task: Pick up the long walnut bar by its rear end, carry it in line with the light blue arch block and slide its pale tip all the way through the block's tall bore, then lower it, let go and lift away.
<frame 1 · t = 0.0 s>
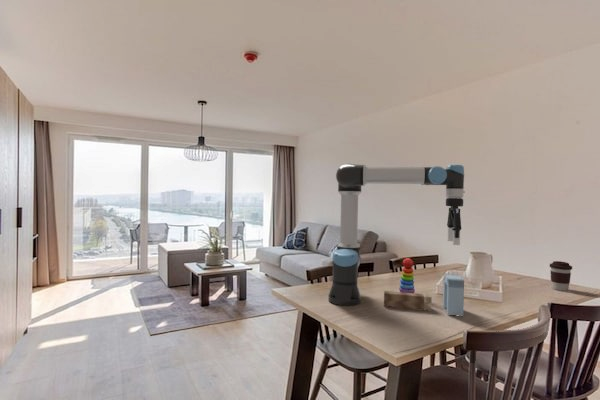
hand: (453, 243, 161), 28 cm above the table, tool pointing down, fingers open, 13 cm apart
coffee cup: (559, 289, 188), on the table
light blue arch block: (452, 311, 149), on the table
stacking toy: (406, 295, 171), on the table
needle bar: (406, 307, 153), on the table
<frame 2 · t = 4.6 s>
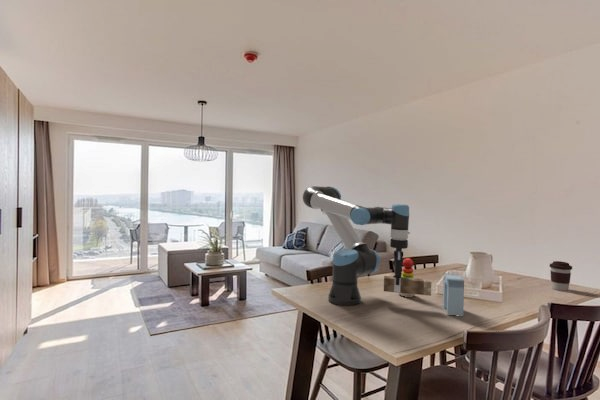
hand: (396, 290, 154), 7 cm above the table, tool pointing down, fingers closed on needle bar, 4 cm apart
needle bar: (406, 292, 153), point 7 cm above the table, touching gripper
everything else where it was.
when the fingers open (1 cm above the table, at t = 10.3 s): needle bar drops 1 cm, on the table.
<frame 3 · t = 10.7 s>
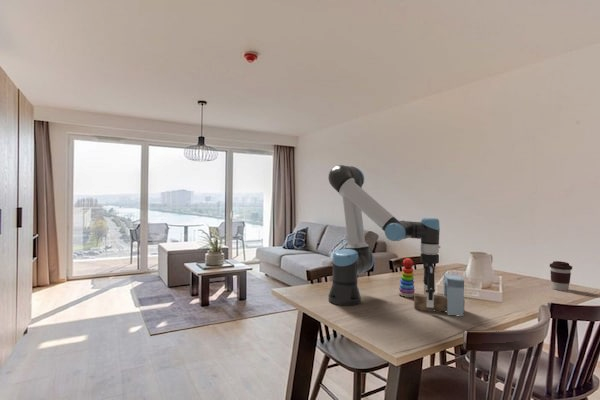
hand: (428, 303, 151), 3 cm above the table, tool pointing down, fingers open, 10 cm apart
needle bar: (438, 310, 150), on the table
everything else where it was.
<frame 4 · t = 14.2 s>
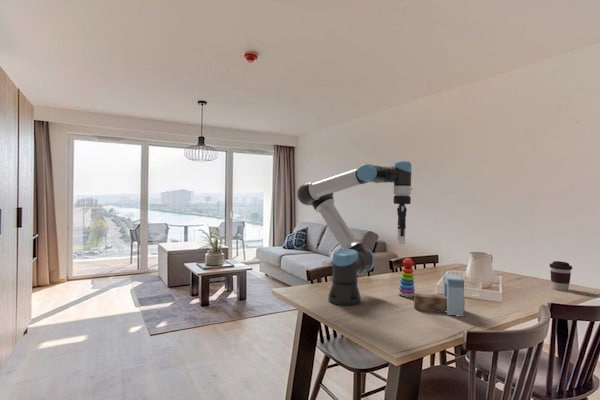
hand: (401, 241, 157), 29 cm above the table, tool pointing down, fingers open, 13 cm apart
nothing on the table moved.
at the end: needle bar inside the target area (1.5 cm from its centre), on the table; the gripper is holding nothing; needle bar tilted 0° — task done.
